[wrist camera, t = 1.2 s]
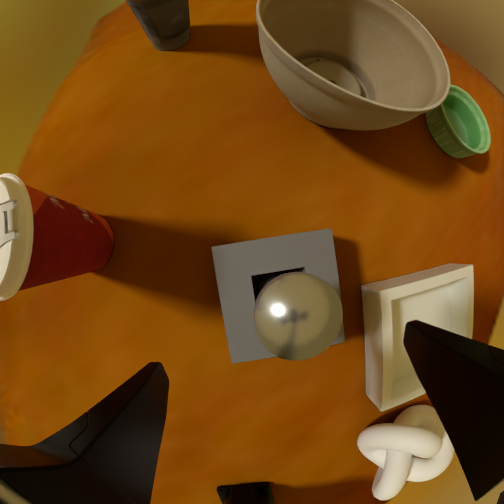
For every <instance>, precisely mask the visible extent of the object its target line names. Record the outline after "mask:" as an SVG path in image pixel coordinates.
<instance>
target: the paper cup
mask: <svg viewBox="0 0 504 504" xmlns="http://www.w3.org/2000/svg"><path fill="white" fill-rule="evenodd" d="M113 246H114V237H113V232H112V229H111V227H110V225H109V224H108V222H107V221H106V220H105V219H104V218H102V217H101V216H99V215H97V214H95V213H93V212H90V211H88V210H86V209H83V208H81V207H78V206H76V205H73V204H71V203H68V202H66V201H63V200H61V199H59V198H56V197H54V196H51V195H49V194H46V193H44V192H41V191H39V190H36V189H34V188H32V187H29V186H27V185H24V183H23V182H22V180H21V179H20V178H19V177H17V176H16V175H13V174H11V173H5V174H2V175H0V300H6V299H8V298H11V297H12V296H13V295H14V294H16V292H17V291H20V290H23V289H27V288H31V287H35V286H39V285H43V284H46V283H50V282H54V281H58V280H62V279H66V278H70V277H74V276H78V275H81V274H85V273H89V272H92V271H95V270H98V269H100V268H101V267H103V266H104V265H105V264H106V263H107V262H108V260H109V259H110V257H111V254H112V251H113Z"/></svg>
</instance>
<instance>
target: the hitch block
mask: <svg viewBox="0 0 504 504" xmlns="http://www.w3.org/2000/svg"><path fill="white" fill-rule="evenodd" d="M212 254H213V260H214V267H215V273H216V279H217V285H218V291H219V297H220V302H221V308H222V314H223V319H224V325H225V330H226V335H227V341H228V346H229V351H230V356H231V361H232V363H238V362H245V361H252V360H259V359H265V358H271V357H277V356H276V355H274V354H272V353H271V352H270V351H268V350H267V349H266V348H265V347H264V346H263V344H262V343H261V341H260V340H259V338H258V335H257V333H256V329H255V324H254V306H255V298H254V291H253V285H252V279H251V276H252V275H258V274H265V273H271V272H277V271H283V270H289V269H296V272H304V273H308V274H311V275H315V276H318V277H320V278H322V279H323V280H325V281H327V282H328V283H329V284H330V285H331V286H332V287H333V288H334V289H335V291H336V292H337V294H338V296H339V298H340V301H341V294H340V286H339V277H338V269H337V262H336V255H335V248H334V241H333V235H332V229H324V230H317V231H310V232H304V233H297V234H290V235H284V236H277V237H270V238H264V239H257V240H251V241H245V242H238V243H232V244H225V245H219V246H213V247H212ZM342 342H345V338H344V325H343V318H342V324H341V328H340V330H339V333H338V335H337V337H336V338H335V340H334V341H333V342H332V344H331V345H334V344H338V343H342Z"/></svg>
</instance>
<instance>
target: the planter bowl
mask: <svg viewBox="0 0 504 504" xmlns="http://www.w3.org/2000/svg"><path fill="white" fill-rule="evenodd" d="M256 19H257V24H258V28H259V42H260V47H261V52H262V56H263V59H264V62H265V64H266V67H267V69H268V71H269V73H270V75H271V77H272V78H273V80H274V82H275V83H276V85H277V86H278V88H279V89H280V90H281V92H282V93H283V94H284V95H285V96H286V97H287V99H288V100H289V101H290V103H291V104H292V106H293V107H294V108H295V109H296V110H297V111H298V112H299V113H300V114H302V115H303V116H304V117H306V118H307V119H309V120H311V121H312V122H315V123H317V124H319V125H322V126H325V127H330V128H338V129H339V128H343V129H349V130H379V129H385V128H390V127H393V126H397V125H400V124H402V123H405V122H407V121H409V120H411V119H413V118H415V117H417V116H419V115H420V114H423V113H426V112H429V111H431V110H433V109H435V108H436V107H438V106H439V105H440V104H441V103H442V102H443V101H444V100H445V99H446V97H447V95H448V92H449V88H450V73H449V68H448V65H447V62H446V59H445V57H444V55H443V53H442V51H441V49H440V47H439V46H438V44H437V43H436V41H435V40H434V38H433V37H432V36H431V34H430V33H429V32H428V31H427V29H426V28H425V27H424V26H423V25H422V24H421V23H420V22H419V21H418V20H417V19H416V18H415V17H414V16H413V15H412V14H410V13H409V12H408V11H407V10H405V9H404V8H403V7H401V6H400V5H399V4H397V3H396V2H394V1H393V0H258V1H257V5H256ZM330 81H332V82H333V83H332V82H330Z"/></svg>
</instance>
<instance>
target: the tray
mask: <svg viewBox="0 0 504 504" xmlns="http://www.w3.org/2000/svg"><path fill="white" fill-rule="evenodd" d="M361 295H362V306H363V319H364V336H365V362H366V395H367V396H368V397H369V398H370V400H371V401H372V402H373V403H374V404H375V405H376V406H377V407H378V409H379V410H380V411H381V412H382V411H385V410H387V409H390V408H392V407H395V406H397V405H400V404H402V403H405V402H407V401H409V400H412V399H414V398H416V397H418V396H421V395H423V394H425V393H426V392H425V390H424V388H423V386H422V384H421V382H420V381H419V379H418V377H417V375H416V373H415V370H414V368H413V365H412V363H411V361H410V358H409V356H408V354H407V352H406V349H405V347H404V344H403V338H404V332H405V326H406V323H407V322H409V321H412V320H419V321H422V322H424V323H427V324H430V325H433V326H436V327H439V328H441V329H444V330H447V331H450V332H453V333H456V334H459V335H461V336H464V337H467V338H470V339H472V334H473V316H474V279H473V265H470V264H450V263H449V264H446V265H442V266H438V267H435V268H431V269H427V270H423V271H419V272H416V273H412V274H408V275H404V276H399V277H395V278H391V279H387V280H383V281H378V282H374V283H370V284H365V285H361Z"/></svg>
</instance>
